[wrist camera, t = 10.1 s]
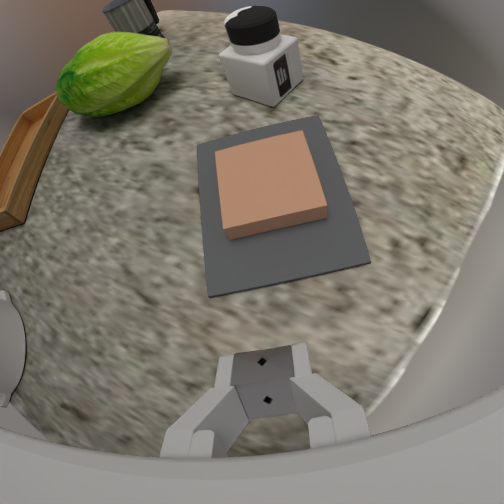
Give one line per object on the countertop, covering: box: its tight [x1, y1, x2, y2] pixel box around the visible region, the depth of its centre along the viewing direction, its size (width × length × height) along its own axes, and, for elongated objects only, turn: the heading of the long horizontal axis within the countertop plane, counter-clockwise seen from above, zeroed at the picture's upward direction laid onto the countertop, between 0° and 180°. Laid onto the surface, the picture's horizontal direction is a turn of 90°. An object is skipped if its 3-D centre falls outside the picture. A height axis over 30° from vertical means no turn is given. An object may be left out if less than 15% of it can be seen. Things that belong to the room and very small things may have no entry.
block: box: [215, 130, 327, 240], centre depth 32 cm, size 10×3×10 cm
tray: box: [0, 92, 69, 231], centre depth 48 cm, size 31×15×6 cm, turn 1°
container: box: [219, 6, 303, 107], centre depth 35 cm, size 8×8×13 cm
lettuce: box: [56, 31, 172, 117], centre depth 41 cm, size 15×23×16 cm
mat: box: [197, 115, 371, 298], centre depth 33 cm, size 16×20×1 cm
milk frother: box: [101, 0, 165, 38], centre depth 51 cm, size 14×16×15 cm
